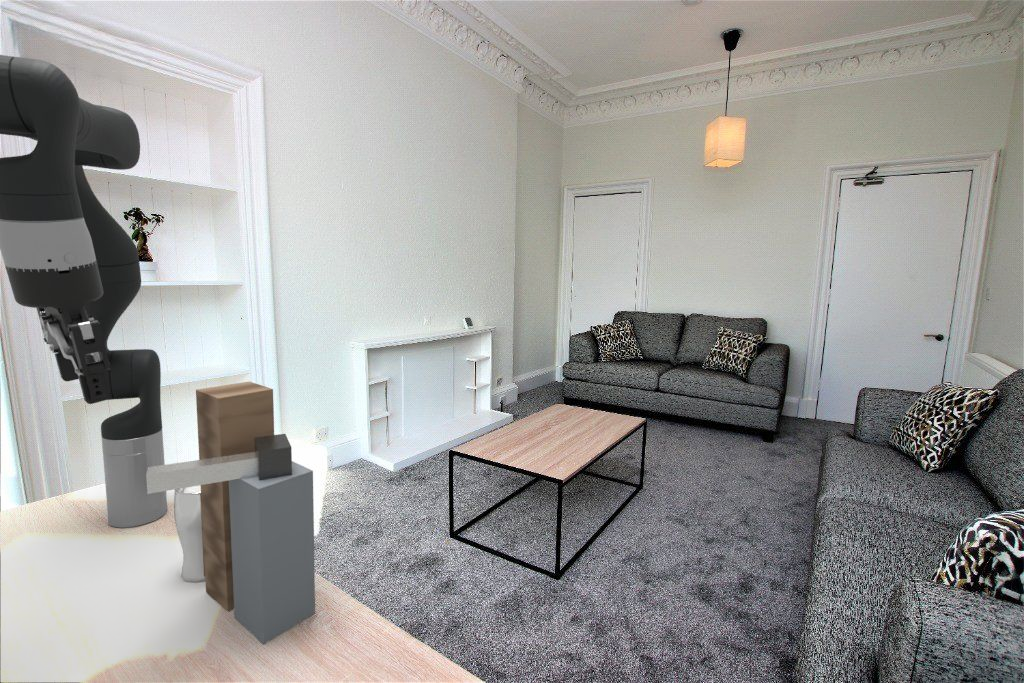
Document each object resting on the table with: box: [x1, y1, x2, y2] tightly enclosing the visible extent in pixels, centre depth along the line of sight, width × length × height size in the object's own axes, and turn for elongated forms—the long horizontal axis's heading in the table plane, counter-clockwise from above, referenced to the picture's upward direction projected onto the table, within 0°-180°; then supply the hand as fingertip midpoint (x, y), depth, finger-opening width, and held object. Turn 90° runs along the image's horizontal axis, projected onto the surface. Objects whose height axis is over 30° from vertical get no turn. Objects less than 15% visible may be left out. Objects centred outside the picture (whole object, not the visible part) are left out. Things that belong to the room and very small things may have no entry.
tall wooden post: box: [195, 381, 275, 613], centre depth 73 cm, size 7×8×32 cm
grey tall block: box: [229, 460, 316, 645], centre depth 68 cm, size 8×8×22 cm
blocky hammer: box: [146, 433, 293, 494], centre depth 64 cm, size 6×16×4 cm, turn 122°
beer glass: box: [173, 485, 205, 583], centre depth 78 cm, size 7×7×15 cm
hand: (85, 389), depth 59 cm, fingers open, 8 cm apart
